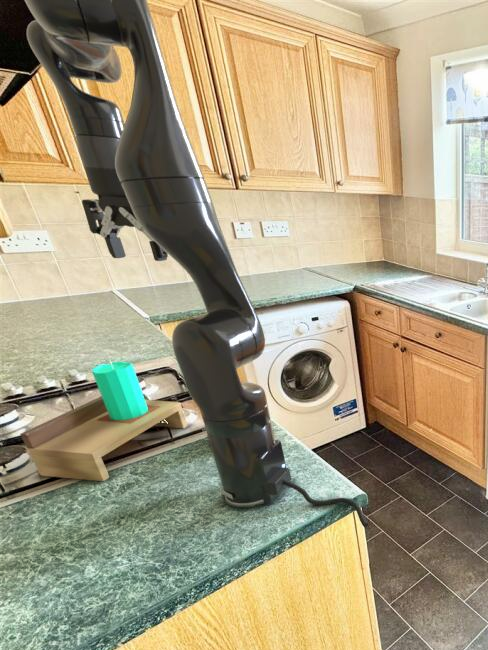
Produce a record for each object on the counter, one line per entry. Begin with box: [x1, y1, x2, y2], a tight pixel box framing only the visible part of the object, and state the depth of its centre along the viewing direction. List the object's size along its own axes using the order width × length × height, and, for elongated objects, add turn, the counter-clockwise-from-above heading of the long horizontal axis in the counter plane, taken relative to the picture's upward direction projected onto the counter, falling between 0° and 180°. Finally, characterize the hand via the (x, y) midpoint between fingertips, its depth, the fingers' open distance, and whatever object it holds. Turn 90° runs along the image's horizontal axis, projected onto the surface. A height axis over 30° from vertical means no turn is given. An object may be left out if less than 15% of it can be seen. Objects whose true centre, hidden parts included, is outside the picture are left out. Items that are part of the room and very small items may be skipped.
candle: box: [91, 358, 148, 420], centre depth 84 cm, size 6×6×12 cm
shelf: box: [20, 395, 188, 482], centre depth 84 cm, size 12×20×9 cm, turn 176°
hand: (140, 259), depth 82 cm, fingers open, 8 cm apart
